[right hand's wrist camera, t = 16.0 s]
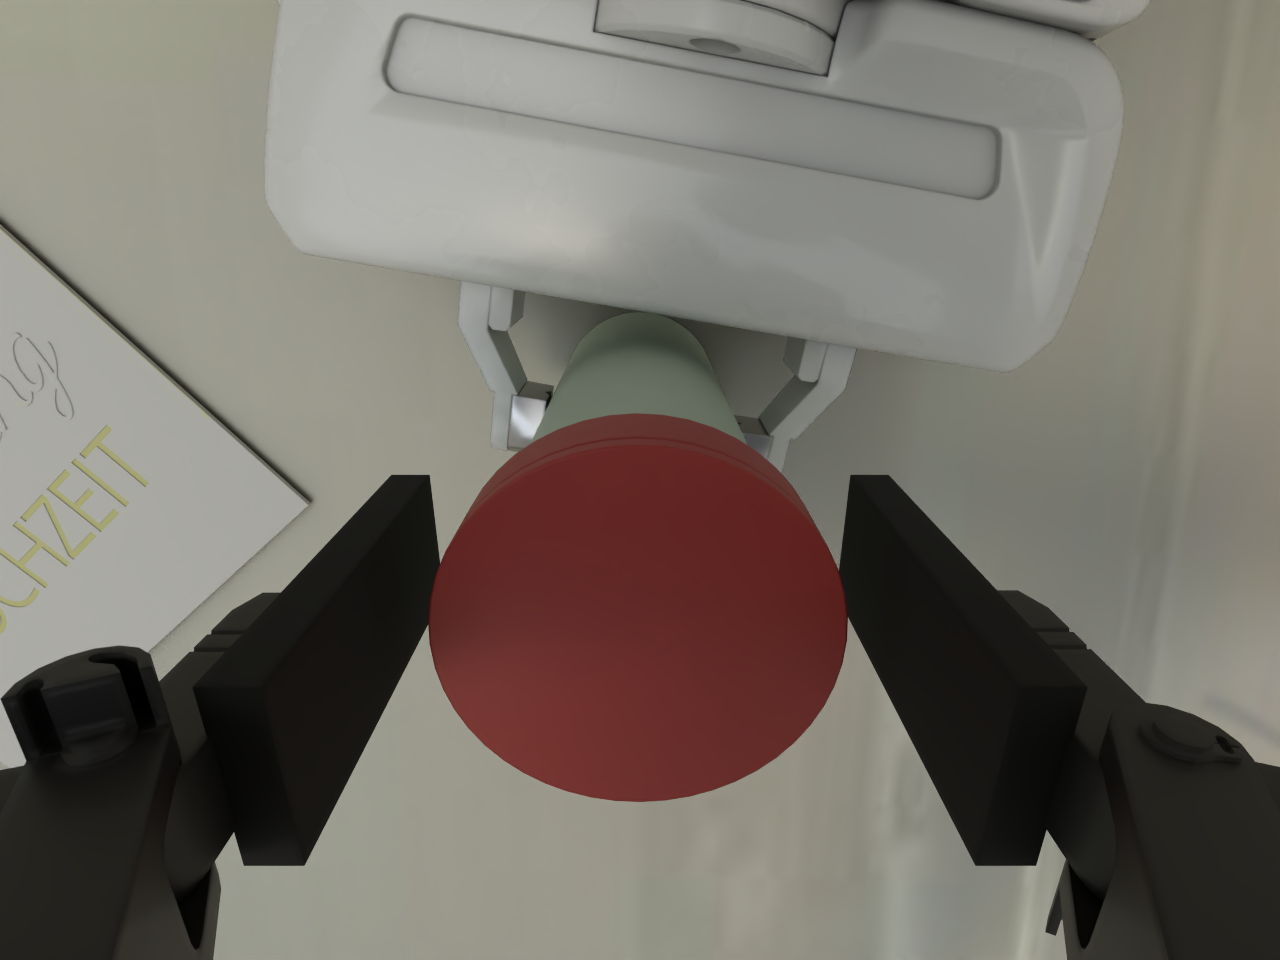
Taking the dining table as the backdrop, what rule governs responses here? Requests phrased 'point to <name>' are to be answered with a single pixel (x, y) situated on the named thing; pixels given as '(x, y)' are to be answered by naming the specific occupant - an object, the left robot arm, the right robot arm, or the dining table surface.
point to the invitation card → (107, 486)
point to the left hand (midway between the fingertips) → (635, 464)
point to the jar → (639, 376)
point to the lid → (638, 610)
